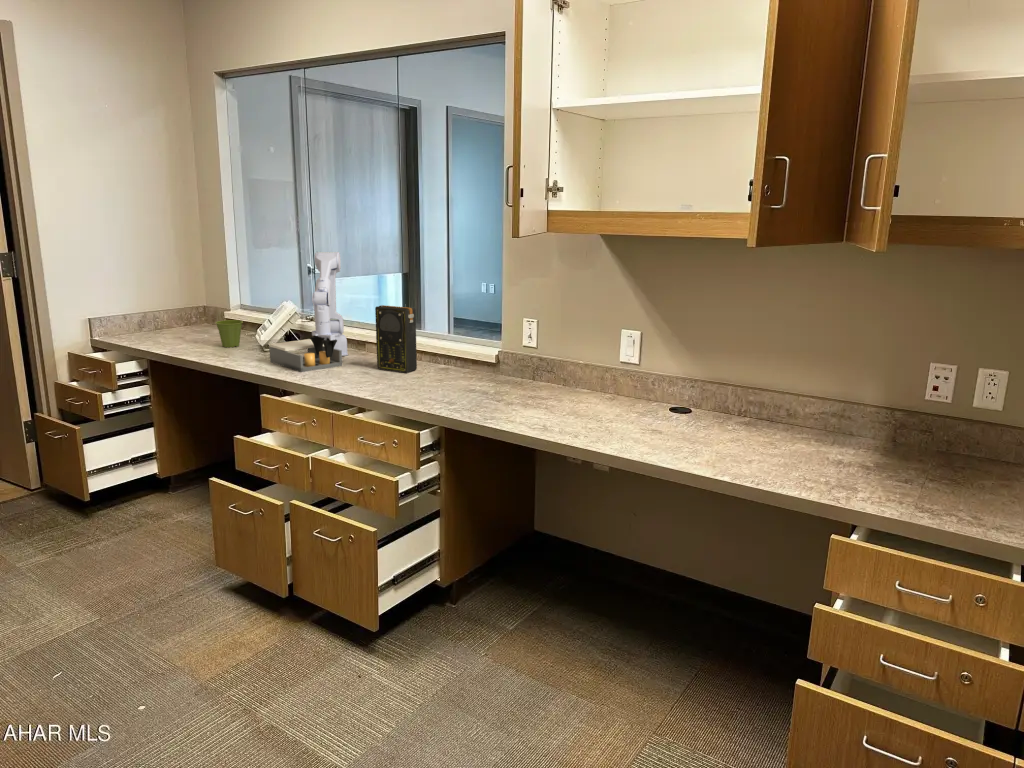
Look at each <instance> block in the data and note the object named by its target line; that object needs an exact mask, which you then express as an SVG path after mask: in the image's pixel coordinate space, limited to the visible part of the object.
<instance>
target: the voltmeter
mask: <svg viewBox="0 0 1024 768" xmlns="http://www.w3.org/2000/svg"><path fill="white" fill-rule="evenodd" d="M416 310H417V309H416V308H414V307H406V306H405V307H404V306H394V305H383V304H381V305H379V306H375V310H374V311H375V312H374V313H375V340H376V344H375V346H376V366H377V367H376V368H377V369H378V370H382V371H388V372H393V373H394V372H396V373H402V374H408V373H410V372H413V371H416V370H417V368H418V364H417V363H418V362H417V361H418V358H417V354H418V353H417V321H416V320H417V319H416V317H417V316H416V315H417V311H416Z"/></svg>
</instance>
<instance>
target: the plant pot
mask: <svg viewBox="0 0 1024 768" xmlns="http://www.w3.org/2000/svg"><path fill="white" fill-rule="evenodd" d="M243 323H244V321H243V320H239V319H238V320H237V319H230V320H229V319H227V320H220V321H215V323H214V324H216V327H217V330H218V333H219V337H220V342H221V345H222V347H223V346H224V348H227V347H228V348H230V347H232V348H234V347H235V346H236V347H235V348H237V346H238V347H239V346H240V342H241V333H242V332H241V331H242V326H243Z"/></svg>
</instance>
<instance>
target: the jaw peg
mask: <svg viewBox="0 0 1024 768" xmlns="http://www.w3.org/2000/svg"><path fill="white" fill-rule="evenodd" d="M319 360H320V364H321V365H324V364H330V357H328V358H327V357H326V352H325V351H320V352H319Z"/></svg>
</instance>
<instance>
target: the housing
mask: <svg viewBox="0 0 1024 768" xmlns="http://www.w3.org/2000/svg"><path fill="white" fill-rule="evenodd" d="M268 348H269V349H268V350H269V359H270V360H269V362H270V363H272V364H275V365H278V366H281V367H285V368H288V369H291V370H294V371H297V372H300V373H304V372H311V371H316V370H325V369H331V368H336V367H342V366H343V356H342V350H338V349H334V350H333V354H332V357H330V364H324V365H321V364H320V360H319V355H317V353H316V350H315V347H314V348H307V353H315V366H310V367H306V366H305V360H304V359H303V358H304V355H303V354H302V355H301V354H298V353H294V352H291V351H283V350H280V349H276V348H273V347H270V346H268ZM323 351H325V347H324V346H323Z"/></svg>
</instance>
